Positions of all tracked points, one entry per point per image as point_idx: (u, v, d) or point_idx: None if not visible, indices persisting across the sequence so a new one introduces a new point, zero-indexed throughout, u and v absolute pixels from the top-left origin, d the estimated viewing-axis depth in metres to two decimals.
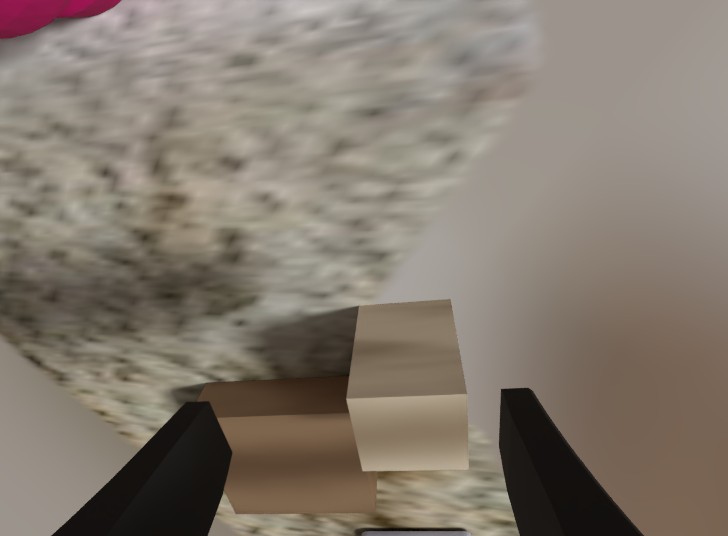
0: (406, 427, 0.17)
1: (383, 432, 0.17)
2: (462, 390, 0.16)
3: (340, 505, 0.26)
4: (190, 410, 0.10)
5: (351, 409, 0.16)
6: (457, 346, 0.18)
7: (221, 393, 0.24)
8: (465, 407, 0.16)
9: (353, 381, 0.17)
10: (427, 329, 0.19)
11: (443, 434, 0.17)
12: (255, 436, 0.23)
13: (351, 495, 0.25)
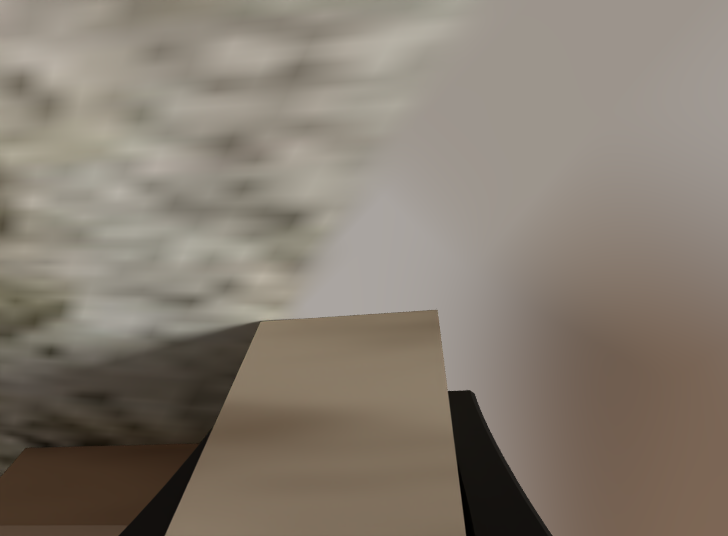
0: None
1: None
2: None
3: None
4: None
5: None
6: (449, 426, 0.07)
7: (40, 471, 0.14)
8: None
9: (180, 527, 0.07)
10: (385, 377, 0.09)
11: None
12: None
13: None
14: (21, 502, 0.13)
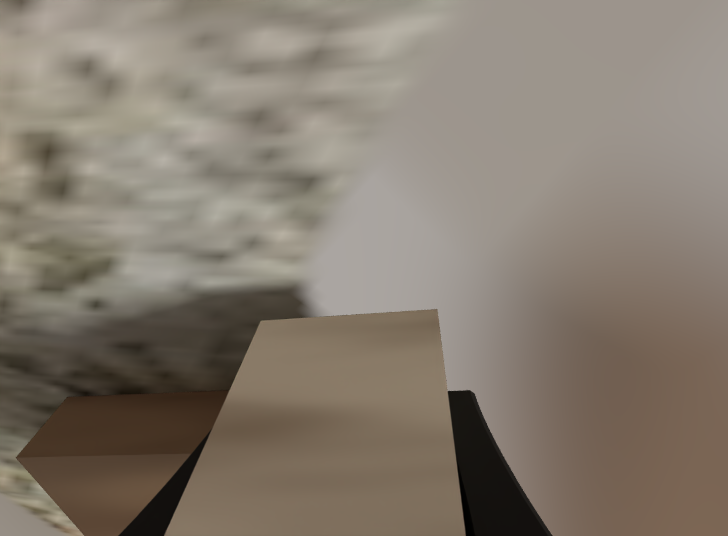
0: None
1: None
2: None
3: None
4: None
5: None
6: (449, 425, 0.07)
7: (82, 415, 0.16)
8: None
9: (180, 526, 0.07)
10: (384, 376, 0.09)
11: None
12: (127, 484, 0.15)
13: None
14: (68, 439, 0.15)
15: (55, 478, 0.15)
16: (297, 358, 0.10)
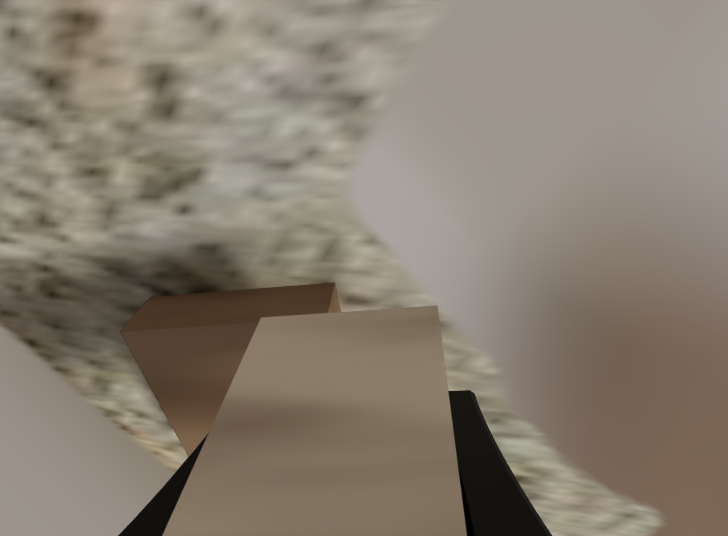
0: None
1: None
2: None
3: None
4: None
5: None
6: (449, 420, 0.07)
7: (166, 306, 0.19)
8: None
9: (181, 520, 0.07)
10: (385, 372, 0.09)
11: None
12: (205, 355, 0.18)
13: None
14: (159, 319, 0.18)
15: (148, 352, 0.19)
16: (297, 354, 0.10)
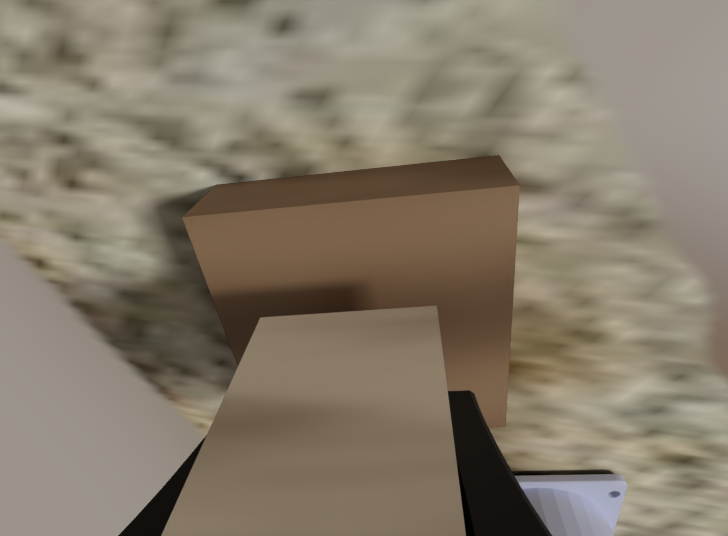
0: None
1: None
2: None
3: None
4: None
5: None
6: (448, 420, 0.07)
7: (245, 190, 0.13)
8: None
9: (179, 520, 0.07)
10: (384, 372, 0.09)
11: None
12: (310, 258, 0.12)
13: (470, 390, 0.14)
14: (240, 203, 0.12)
15: (223, 253, 0.12)
16: (296, 354, 0.10)
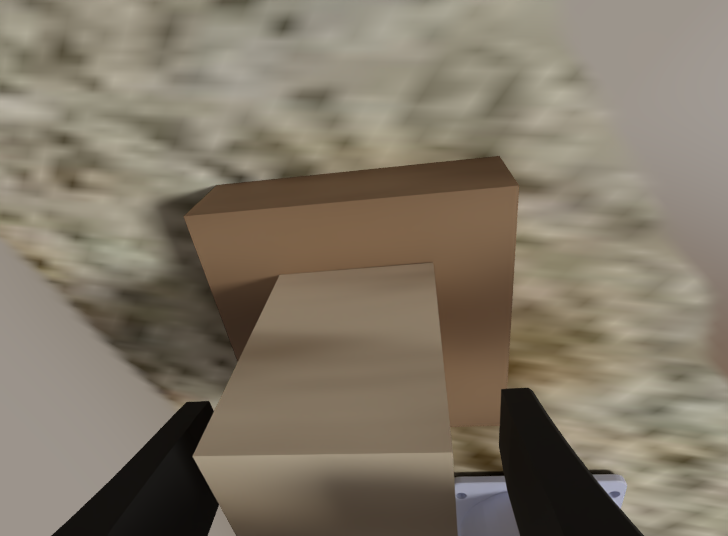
0: (329, 512, 0.08)
1: (285, 519, 0.08)
2: (442, 443, 0.07)
3: None
4: (190, 411, 0.10)
5: (209, 476, 0.08)
6: (439, 344, 0.09)
7: (246, 190, 0.13)
8: (450, 479, 0.07)
9: (221, 415, 0.08)
10: (387, 312, 0.10)
11: (406, 527, 0.08)
12: (310, 257, 0.12)
13: (469, 388, 0.14)
14: (241, 202, 0.12)
15: (223, 252, 0.12)
16: (312, 301, 0.11)
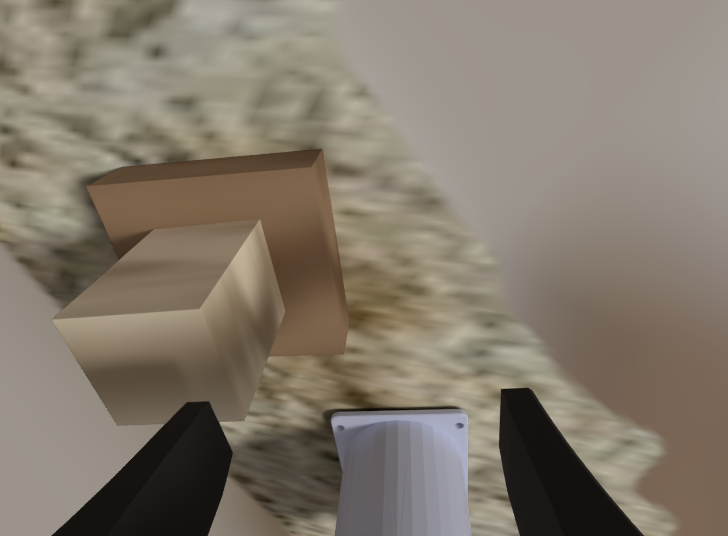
0: (144, 360, 0.13)
1: (119, 369, 0.13)
2: (197, 305, 0.12)
3: (298, 341, 0.20)
4: (190, 410, 0.10)
5: (64, 335, 0.12)
6: (229, 262, 0.14)
7: (139, 170, 0.18)
8: (205, 329, 0.12)
9: (77, 301, 0.13)
10: (210, 247, 0.15)
11: (194, 371, 0.13)
12: (179, 218, 0.17)
13: (312, 323, 0.19)
14: (130, 177, 0.17)
15: (117, 213, 0.17)
16: (166, 243, 0.16)
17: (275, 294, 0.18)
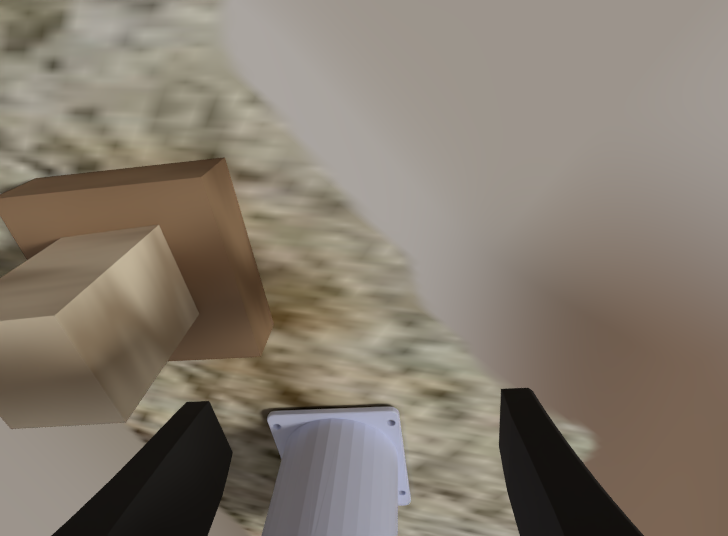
0: (18, 366, 0.13)
1: None
2: (54, 312, 0.12)
3: (215, 345, 0.20)
4: (190, 410, 0.10)
5: None
6: (107, 268, 0.14)
7: (48, 181, 0.18)
8: (65, 335, 0.12)
9: None
10: (99, 254, 0.15)
11: (66, 375, 0.13)
12: (83, 228, 0.17)
13: (225, 327, 0.20)
14: (35, 189, 0.17)
15: (24, 224, 0.18)
16: (64, 251, 0.16)
17: (183, 298, 0.18)
